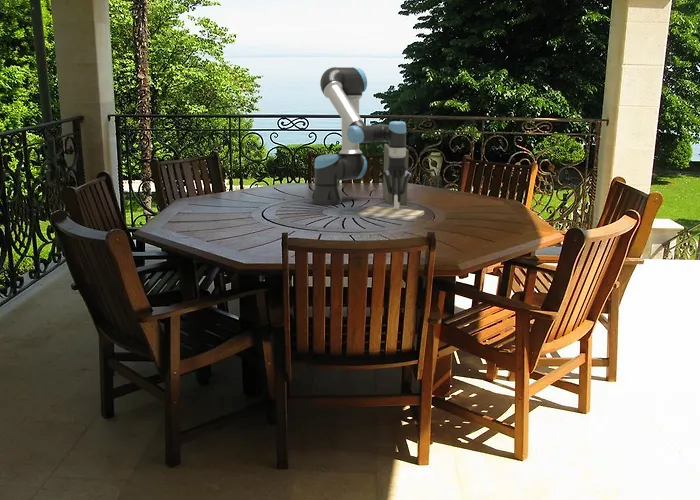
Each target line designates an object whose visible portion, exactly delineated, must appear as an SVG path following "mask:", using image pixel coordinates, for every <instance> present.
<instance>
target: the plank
mask: <svg viewBox="0 0 700 500" xmlns="http://www.w3.org/2000/svg"><path fill="white" fill-rule="evenodd" d="M362 211H368V212H378V213H388V214H398V215H408V216H417V218H416V219H419V218H421V217H422V216H423V215H425V211H424V210H417V209H408V208H407V209H406V208H399V209H394V207H386V206H375V205H369V206H368V207H366V208H365V209H363V210H362Z"/></svg>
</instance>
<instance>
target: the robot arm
mask: <svg viewBox="0 0 700 500" xmlns="http://www.w3.org/2000/svg"><path fill="white" fill-rule="evenodd" d="M319 85H320V86H319V87H320V90H321V92H322V94H323V96H324V97H325V98H327V99H329V101H330V103H331V104H332V106H333V107H334V109H335V110H336V112H337V114H338V116H339V117H340V119H341V150H340V151H339V152H338V154H336V153H330V154H329V153H327V154H326V153H325V154H321V155H318V156H316V158H315V159H314V166H313V167H314V189H313V191H312V195H311V197H310V201H311V202H310V203H311V204H313V205H320V206H335V205H339V204H341V203H342V201H343V200H342V199H343V197H342V195H341V191H340V189H339V181H349V180H355V181H356V180H357V179H362V178H363V177H364V175H365V174H366V173H367V169H368V161H367V158H366V157H365V156H364V155H363V151H362V150H361V149H360V144H362V143H363V144H364V143H382V142H383V143H384V142H385V143H388V146H389V156H390V157H389V168H388V170H387V171H385V172H384V171H383V172H382V175H383V177H384V176H385V179H386V184H387V188H388V193H391V194H392V201H393V202H394V205H393V208H394V209H400V205H399V202H401V195H402V194H404V193H405V192H406V188H407V189H408V184H409V180H410V177H411V176H412V173H411V172H409V170H408V171H406V167H405V166H406V158H405V157H404V156H406V149H407V146H406V145H407V123H406V122H405V121H400V120H399V121H397V120H394V121H390V122H389V124H385V123H384V124H383V123H382V124H381V123H379V124H371V125H369V124H368V125H367V124H366V123H365V122H364V121H363V120H362V118H361V116H360V99H361V98H362V96H363V93H364V92H366V90H367V88H368V87H367V86H368V79H367V75H366V73H365V72H364V70H363V69H362V68H359V67H336V66H334V67H330V68H328V69H326V70H325V71H324V72H323V73H322V75H321V77H320V81H319ZM389 173H390V175H391V176H392V186H391V181H390V176H389ZM404 174H405V176H406V177H405V179H404V183H403V187H402V176H403V175H404ZM397 180H398V183H397V194H396V181H397Z"/></svg>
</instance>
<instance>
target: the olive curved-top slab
mask: <svg viewBox="0 0 700 500" xmlns="http://www.w3.org/2000/svg"><path fill="white" fill-rule="evenodd" d="M383 145H384V146H383V147H384V150H383V152H384V153H383V172H385V171H387V170H388V168H389V157H390V156H389V144H387V143H384V144H383ZM409 153H410V152H409V149H407V148H406V156H404V157H405V158H406V166H405V167H406V171H408V172H409ZM389 176H390V181H391V186H392V176H391V175H390V173H389ZM405 177H406V176H405V174H404V175H403V176H402V187H403V183H404V179H405ZM382 180H383V181H382V182H383V187H382V199H383V200H385V203H386V205H391V206H392V205H393V206H394V202H393V201H392V194H391V193H388V188H387V184H386V179H385V176H384V175H383V179H382ZM397 183H398V180H397V181H396V194H397ZM399 206H404V207H407V206H408V187H407V188H406V192H405V193H404V194H402V195H401V202H399Z"/></svg>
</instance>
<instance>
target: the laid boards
mask: <svg viewBox="0 0 700 500" xmlns="http://www.w3.org/2000/svg"><path fill="white" fill-rule="evenodd" d="M356 216H361V217H369V218H379V219H380V218H381V219H389V220H391V219H392V220H399V221H408V222H412V221H414V220H416V219H418V218H417V216H408V215H398V214H388V213H378V212H368V211H363V210H361V211H359V212H357V213H356Z"/></svg>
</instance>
